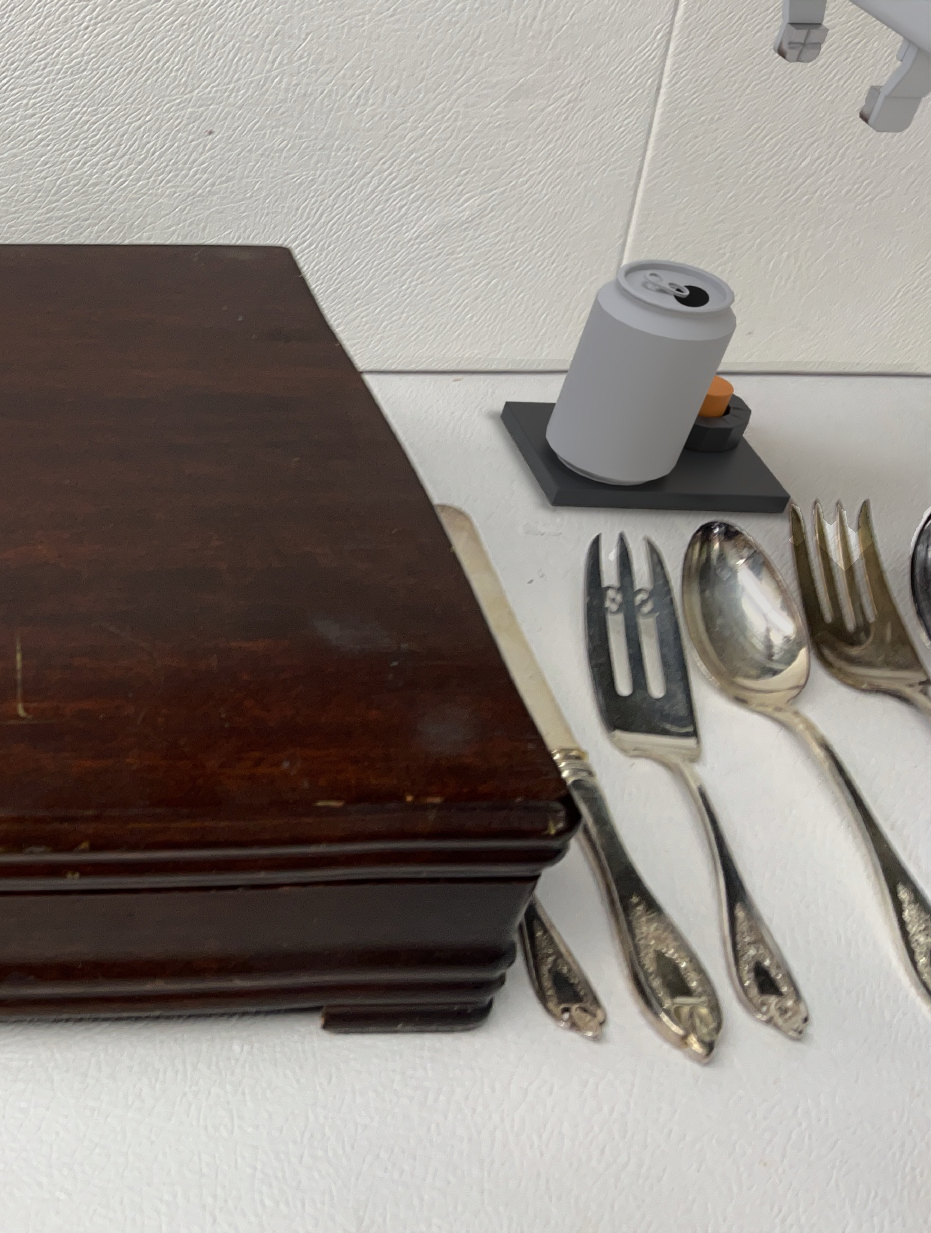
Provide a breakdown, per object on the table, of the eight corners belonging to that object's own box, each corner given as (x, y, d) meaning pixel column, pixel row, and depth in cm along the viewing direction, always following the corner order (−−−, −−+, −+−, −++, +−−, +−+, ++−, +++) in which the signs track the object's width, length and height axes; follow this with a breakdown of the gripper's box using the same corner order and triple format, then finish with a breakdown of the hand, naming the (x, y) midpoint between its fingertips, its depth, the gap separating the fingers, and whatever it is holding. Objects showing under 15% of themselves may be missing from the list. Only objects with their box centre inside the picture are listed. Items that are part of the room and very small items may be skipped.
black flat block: (711, 420, 103) (729, 380, 101) (783, 513, 95) (804, 471, 93) (498, 413, 103) (512, 373, 101) (551, 505, 95) (567, 463, 93)
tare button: (712, 396, 100) (722, 372, 99) (730, 420, 98) (742, 396, 97) (668, 395, 100) (678, 371, 99) (686, 419, 98) (696, 394, 97)
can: (658, 507, 93) (738, 326, 86) (528, 467, 96) (594, 288, 88) (680, 449, 98) (757, 273, 90) (555, 413, 101) (620, 239, 93)
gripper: (786, -255, 80) (690, 21, 89) (1013, -154, 64) (869, 171, 73) (911, -254, 80) (803, 23, 89) (1169, -152, 64) (1007, 173, 73)
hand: (834, 91), depth 81 cm, fingers open, 8 cm apart
